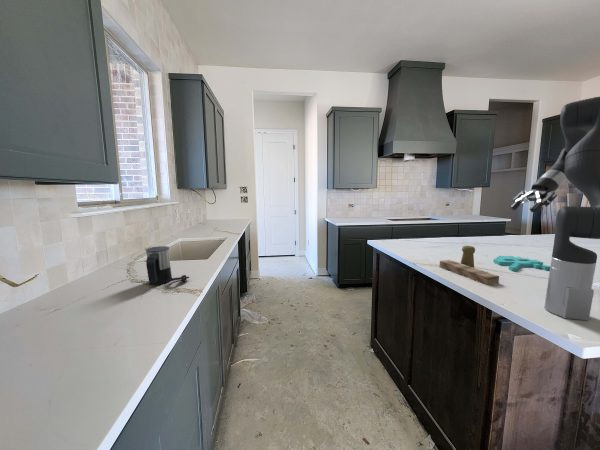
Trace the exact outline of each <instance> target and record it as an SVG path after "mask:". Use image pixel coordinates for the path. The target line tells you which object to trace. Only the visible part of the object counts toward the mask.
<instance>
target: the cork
mask: <svg viewBox="0 0 600 450" xmlns="http://www.w3.org/2000/svg"><path fill="white" fill-rule="evenodd" d="M461 251H462V255H461V259H460V260H461V261H460V263H461V264H464V265H467V266H470V267H473V268H475V257H474V254H475V252H476V248H475V246H472V245H464V246H462V248H461Z"/></svg>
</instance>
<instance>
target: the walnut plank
mask: <svg viewBox="0 0 600 450" xmlns="http://www.w3.org/2000/svg"><path fill="white" fill-rule="evenodd" d="M439 268H442V269H444V270H447V271H448V272H449V271H450V272H452V273H454V274H458V275H460V276H463V277H465V278H468V279H471V280H474V281H477V282H478V283H481V284H484V285H487V286H488V285H489V286H490V285H496V284H499V281H500V275H497V274H494V273H491V272H488V271H485V270H481V269H479V268H476V267H474V268H473V267H470V266H467V265H464V264H461V262H457V261H454V260H452V259H446V260H445V259H444V260H439Z"/></svg>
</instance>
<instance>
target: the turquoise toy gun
mask: <svg viewBox="0 0 600 450" xmlns="http://www.w3.org/2000/svg"><path fill="white" fill-rule="evenodd" d="M492 262H494V264H496V265H498V266H508V270H509V271H510V272H518V270H520V269H521V268H534V269H540V270H543V271H550V266H549V265H547V264H544V261H540V260H538V259H531V258H528V257H527V258H526V257H525V258H523V257H520V256H514V255H498V256H496V257H495V258H494V259H493V261H492Z"/></svg>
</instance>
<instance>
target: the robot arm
mask: <svg viewBox="0 0 600 450" xmlns="http://www.w3.org/2000/svg"><path fill="white" fill-rule="evenodd" d="M559 118H560V119H559V123H560V124H559V125H560V128H561V132H562V135H563V137H564V140H565V141H564V142H565V143H564V144H565V145H564V148H562V149H561V151H560V153H559V155H558V158H557V160H556V161H555V163H554V164H552V166H551V167H550V168H549V169H548V170H547V171H546V172H545V173H543V174H542V175H541V176H540V177H539V178H537V180H536V181H535V182H534V183H533V184H532V185H531V188H530V190H528V191H525V190H523V189H522V190H520V192H518V194H516V195H515V196H514V197H513V198H512V200H513V202H514V203H513V204H511V206H510V209H511V210H512V211H516V210H517V209H518V208H519V207H520V206H521V205H523V204H525V203H529V202H534V204H533V205H532V206H531V207H530V208H529V211H530V212H531V213H535V212H536V211H538V210H539V209H540V208H541V207H543V206H550V204H552V202H553V201H554V200H555V199H556V198H557V197H558V195H557V193H556V191H557V190H558V189H559V188H560V187H561V186H562V185H563V184H564V182H565V181H566V180H567V181H569V183H571V184H572V185H573V187H575V188H576V189H577V190H579V192H581V194H582V195H583V196H585V198H586V200H587V201H588V204H589V206H572V205H571V206H570V205H569V206H567V205H566V206H561V207H560V208H559V209H558V211H557V213H556V217H555V226H554V228H555V229H554V239H553V247H552V252H551V253H552V254H551V260H550V270H549V273H548V279H547V287H546V295H545V299H544V300H545V301H544V310H546V311H547V312H549V313H551V314H553V315H556V316H560V317H562V318H563V319H568V320H569V319H570V320H580V321H581V320H583V321H589V320H590V316H591V310H592V305H593V298H594V293H595V291H594V289H592V288H593V283H594V278H595V277H594V276H595V271H596V267H597V266H596V265H597V259H598V254H597V253H596V252H595V251H593V250H590V249H588V248H584V247H583V246H579V245H577V244H575V243H574V242H572V241H571V239H570V238H576V239H577V238H579V239H590V240H591V239H592V240H600V96H594V97H590V98H585V99H581V100H577V101H572V102H568V103H566V104H565V105H563V106H562V108H561V111H560V116H559ZM589 127H590V129H589V130H587V129H585V128H589Z"/></svg>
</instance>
